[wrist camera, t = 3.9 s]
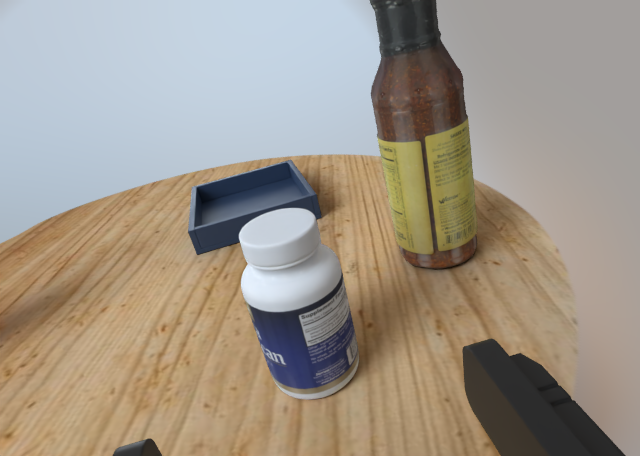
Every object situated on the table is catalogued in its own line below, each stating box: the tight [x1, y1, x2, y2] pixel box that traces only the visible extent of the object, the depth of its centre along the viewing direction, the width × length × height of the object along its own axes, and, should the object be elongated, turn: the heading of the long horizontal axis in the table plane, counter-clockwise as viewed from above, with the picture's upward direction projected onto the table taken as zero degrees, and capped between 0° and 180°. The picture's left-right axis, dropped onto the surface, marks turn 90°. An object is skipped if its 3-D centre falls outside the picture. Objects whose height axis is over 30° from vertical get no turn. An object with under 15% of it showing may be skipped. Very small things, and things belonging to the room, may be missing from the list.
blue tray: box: [188, 160, 322, 255], centre depth 48 cm, size 13×14×3 cm
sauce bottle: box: [370, 0, 477, 269], centre depth 29 cm, size 7×6×20 cm
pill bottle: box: [239, 208, 359, 400], centre depth 23 cm, size 5×5×10 cm
